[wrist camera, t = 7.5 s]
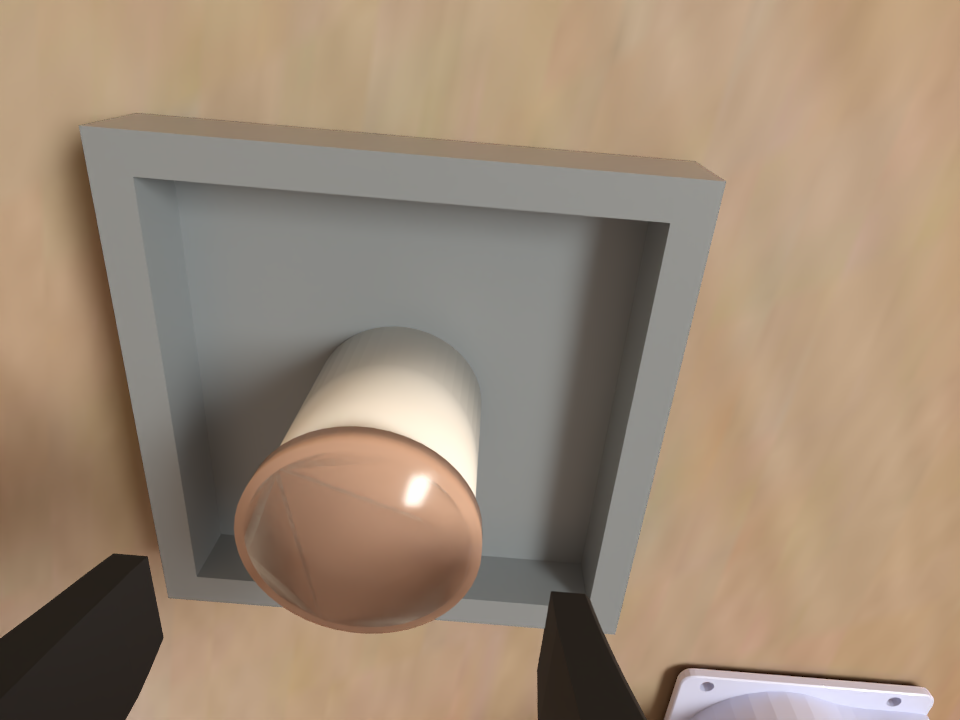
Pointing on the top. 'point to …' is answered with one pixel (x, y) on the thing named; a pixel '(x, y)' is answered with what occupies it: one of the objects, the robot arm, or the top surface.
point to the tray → (402, 303)
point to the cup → (372, 489)
